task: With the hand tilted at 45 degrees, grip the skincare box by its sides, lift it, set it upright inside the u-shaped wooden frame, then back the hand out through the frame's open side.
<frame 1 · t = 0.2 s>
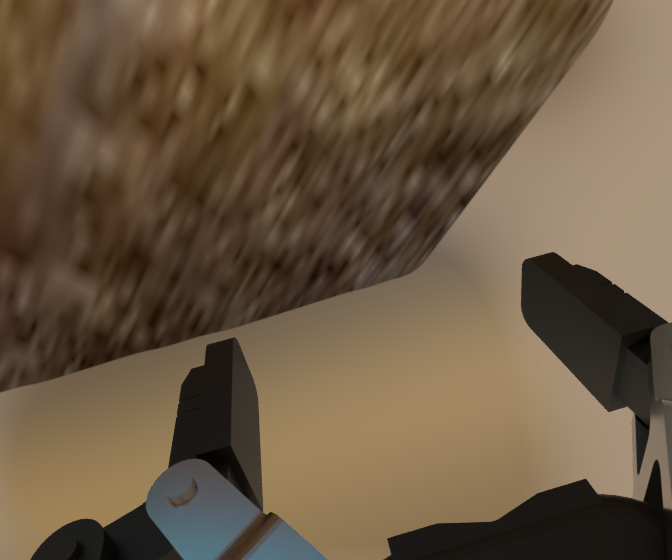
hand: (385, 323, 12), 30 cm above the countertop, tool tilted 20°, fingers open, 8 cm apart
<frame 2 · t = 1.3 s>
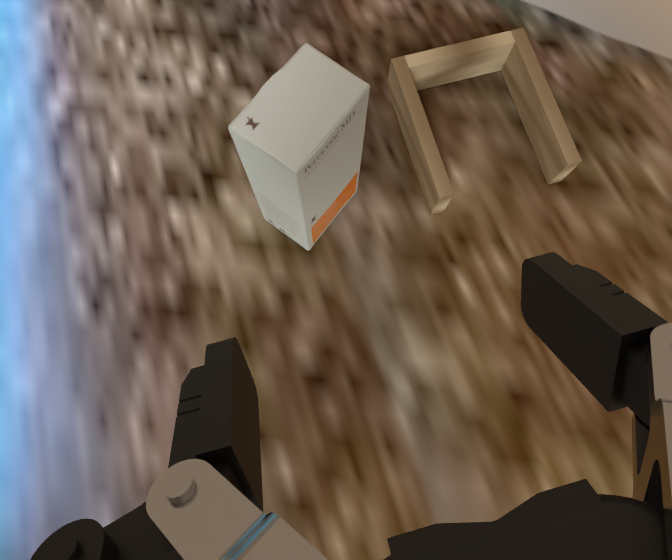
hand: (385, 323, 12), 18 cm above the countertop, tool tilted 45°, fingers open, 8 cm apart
u-shaped wooden frame: (473, 138, 34), on the countertop
skincare box: (312, 205, 33), on the countertop
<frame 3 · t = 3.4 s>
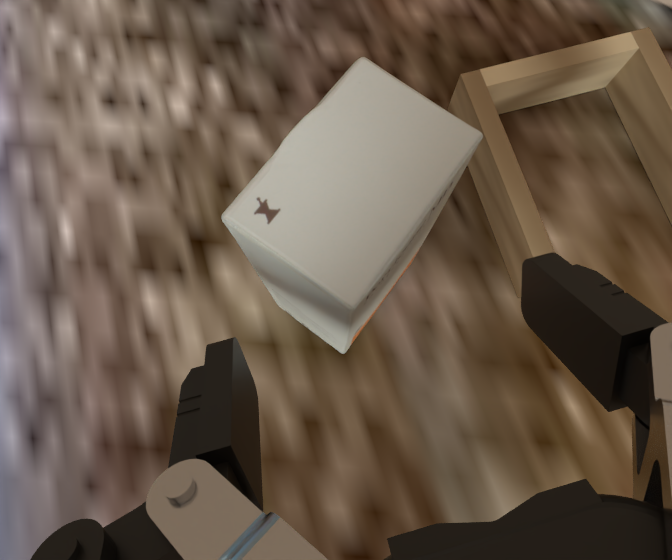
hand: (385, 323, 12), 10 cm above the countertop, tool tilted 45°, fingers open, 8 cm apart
u-shaped wooden frame: (572, 184, 24), on the countertop
skincare box: (347, 284, 23), on the countertop
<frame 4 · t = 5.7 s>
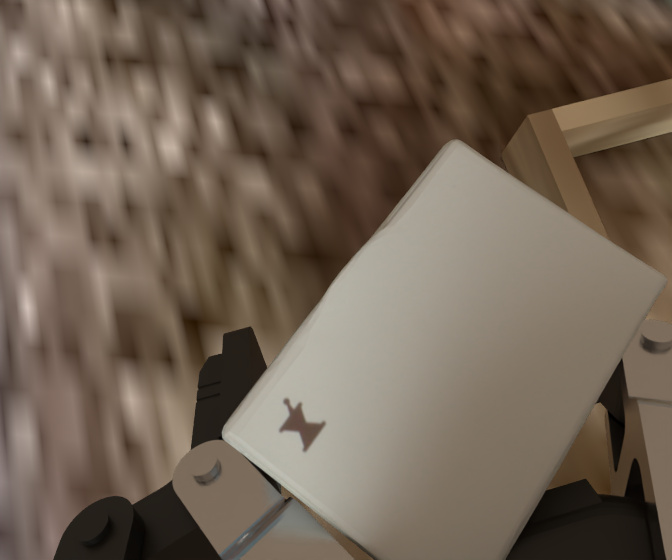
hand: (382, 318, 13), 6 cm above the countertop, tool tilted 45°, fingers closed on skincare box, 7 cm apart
u-shaped wooden frame: (661, 249, 19), on the countertop
skincare box: (380, 378, 18), on the countertop, touching gripper
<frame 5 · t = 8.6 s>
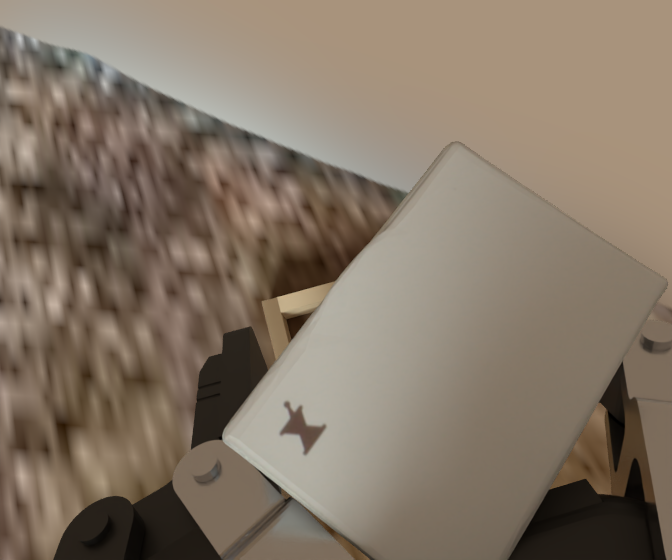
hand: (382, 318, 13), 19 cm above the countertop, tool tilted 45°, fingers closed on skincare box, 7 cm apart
u-shaped wooden frame: (362, 374, 30), on the countertop
skincare box: (380, 379, 18), point 12 cm above the countertop, touching gripper
when the fingers open (7 cm above the countertop, at t = 11.7 s): skincare box drops 1 cm, on the countertop.
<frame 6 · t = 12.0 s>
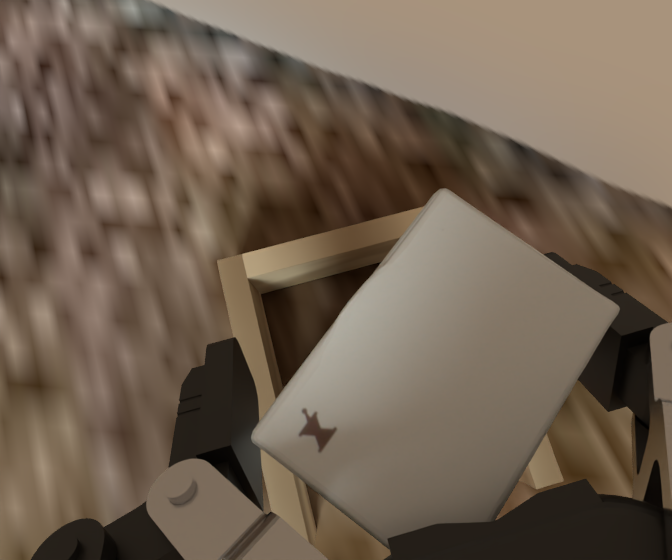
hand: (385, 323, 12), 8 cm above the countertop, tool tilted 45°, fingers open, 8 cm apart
u-shaped wooden frame: (377, 379, 20), on the countertop
skincare box: (380, 383, 20), on the countertop
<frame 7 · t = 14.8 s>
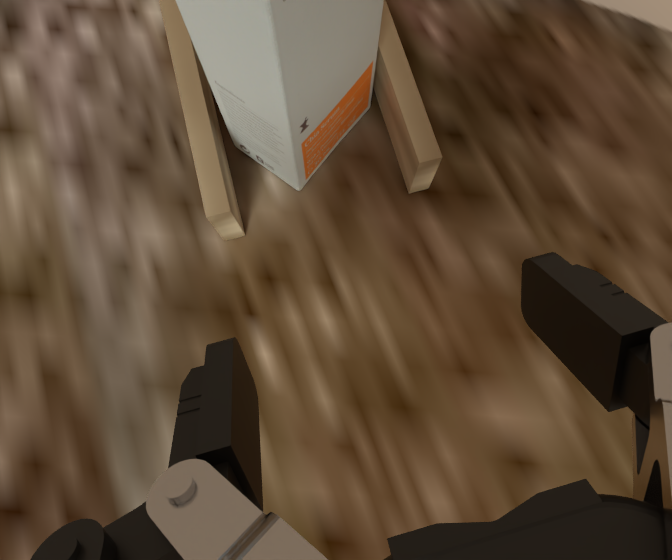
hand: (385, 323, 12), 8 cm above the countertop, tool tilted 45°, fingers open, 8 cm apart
u-shaped wooden frame: (301, 123, 23), on the countertop
skincare box: (305, 129, 23), on the countertop
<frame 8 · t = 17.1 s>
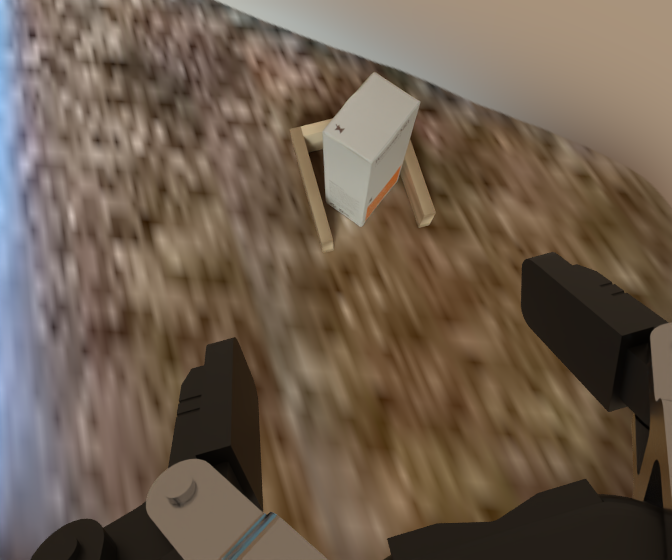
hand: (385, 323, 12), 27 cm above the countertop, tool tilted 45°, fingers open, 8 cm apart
u-shaped wooden frame: (361, 189, 42), on the countertop
skincare box: (362, 192, 42), on the countertop
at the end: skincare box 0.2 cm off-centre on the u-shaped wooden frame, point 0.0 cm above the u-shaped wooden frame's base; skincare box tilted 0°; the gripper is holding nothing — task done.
